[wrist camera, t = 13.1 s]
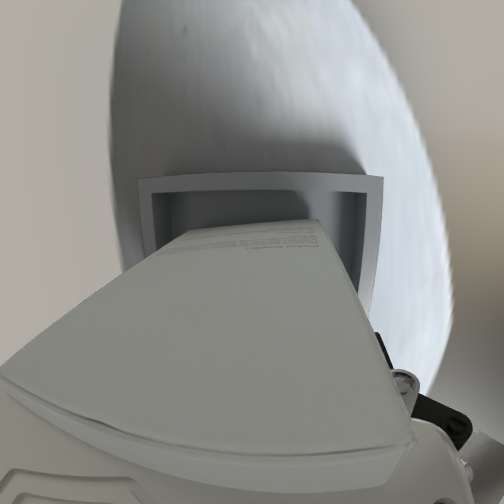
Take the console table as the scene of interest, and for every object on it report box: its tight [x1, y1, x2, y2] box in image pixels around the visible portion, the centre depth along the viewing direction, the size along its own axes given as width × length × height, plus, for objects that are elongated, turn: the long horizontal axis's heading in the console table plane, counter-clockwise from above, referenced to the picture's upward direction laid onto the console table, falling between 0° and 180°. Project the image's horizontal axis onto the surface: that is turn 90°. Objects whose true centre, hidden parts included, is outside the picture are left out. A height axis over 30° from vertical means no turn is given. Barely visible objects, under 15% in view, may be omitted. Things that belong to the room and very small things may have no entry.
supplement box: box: [0, 219, 418, 493], centre depth 9 cm, size 7×7×13 cm
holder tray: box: [137, 172, 384, 318], centre depth 15 cm, size 12×12×3 cm
